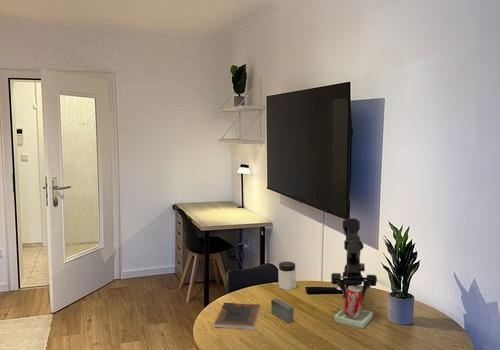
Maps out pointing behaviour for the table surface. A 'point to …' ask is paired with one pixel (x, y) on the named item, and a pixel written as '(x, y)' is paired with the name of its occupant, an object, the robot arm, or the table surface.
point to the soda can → (353, 301)
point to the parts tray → (354, 319)
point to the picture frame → (238, 316)
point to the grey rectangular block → (282, 310)
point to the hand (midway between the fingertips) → (354, 298)
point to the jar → (287, 275)
